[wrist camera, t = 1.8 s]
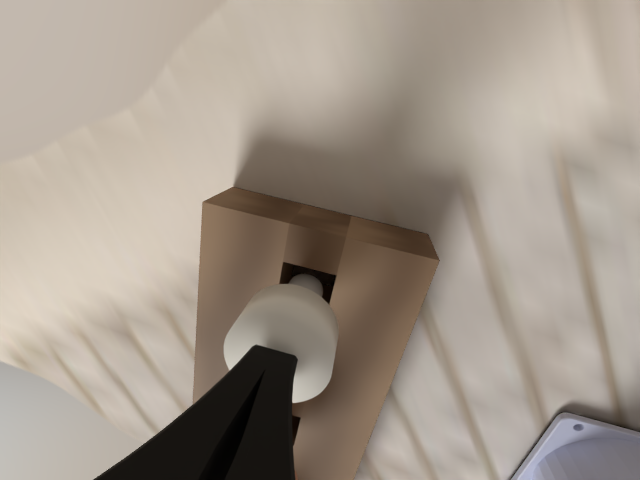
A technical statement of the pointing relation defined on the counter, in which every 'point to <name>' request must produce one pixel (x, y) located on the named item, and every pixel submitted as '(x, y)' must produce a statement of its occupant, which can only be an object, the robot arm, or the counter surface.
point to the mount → (344, 298)
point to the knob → (290, 331)
